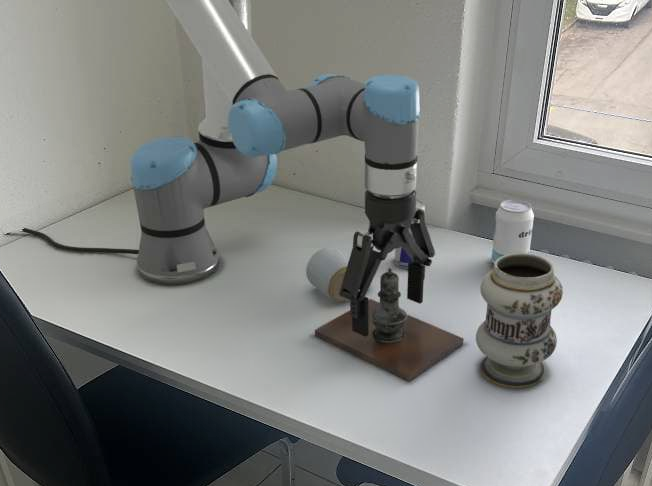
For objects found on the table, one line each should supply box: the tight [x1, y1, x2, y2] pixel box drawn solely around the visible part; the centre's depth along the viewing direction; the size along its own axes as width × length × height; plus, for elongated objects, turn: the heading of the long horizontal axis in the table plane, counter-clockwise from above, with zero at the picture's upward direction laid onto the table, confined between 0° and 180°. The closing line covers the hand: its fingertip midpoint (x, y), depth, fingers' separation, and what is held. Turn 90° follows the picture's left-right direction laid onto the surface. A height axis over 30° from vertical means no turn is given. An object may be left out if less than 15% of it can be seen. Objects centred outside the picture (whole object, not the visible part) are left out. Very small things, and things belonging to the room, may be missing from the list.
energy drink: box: [394, 198, 426, 270], centre depth 151 cm, size 5×5×12 cm
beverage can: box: [491, 199, 535, 264], centre depth 150 cm, size 7×7×12 cm
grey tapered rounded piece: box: [371, 267, 408, 343], centre depth 127 cm, size 6×6×12 cm
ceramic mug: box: [305, 247, 360, 303], centre depth 142 cm, size 11×8×8 cm
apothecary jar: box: [475, 253, 564, 389], centre depth 119 cm, size 12×12×18 cm
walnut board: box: [314, 298, 464, 382], centre depth 131 cm, size 20×14×1 cm
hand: (388, 316), depth 129 cm, fingers open, 13 cm apart
